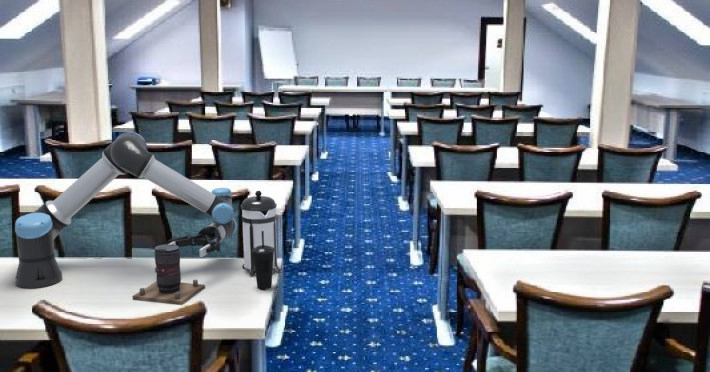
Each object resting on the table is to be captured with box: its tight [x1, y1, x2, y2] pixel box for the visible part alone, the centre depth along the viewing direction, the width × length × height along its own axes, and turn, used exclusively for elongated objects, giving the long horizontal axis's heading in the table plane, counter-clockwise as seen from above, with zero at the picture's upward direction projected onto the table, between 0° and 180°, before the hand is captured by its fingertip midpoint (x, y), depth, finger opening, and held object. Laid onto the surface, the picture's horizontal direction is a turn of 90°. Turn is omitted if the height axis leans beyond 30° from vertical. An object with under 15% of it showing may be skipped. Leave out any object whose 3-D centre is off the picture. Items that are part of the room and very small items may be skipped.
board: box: [132, 279, 206, 305], centre depth 243 cm, size 18×16×3 cm
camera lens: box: [154, 243, 182, 293], centre depth 241 cm, size 8×8×15 cm
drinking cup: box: [252, 231, 275, 291], centre depth 246 cm, size 8×8×20 cm
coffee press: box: [240, 190, 281, 277], centre depth 264 cm, size 17×16×30 cm
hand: (182, 252), depth 250 cm, fingers open, 13 cm apart
